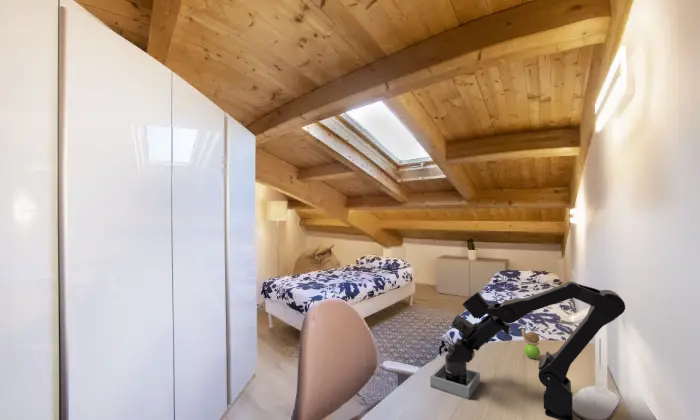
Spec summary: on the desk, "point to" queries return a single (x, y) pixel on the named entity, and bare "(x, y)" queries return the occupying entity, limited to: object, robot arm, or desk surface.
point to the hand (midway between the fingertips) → (451, 357)
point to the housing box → (454, 388)
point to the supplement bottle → (455, 369)
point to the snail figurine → (531, 344)
